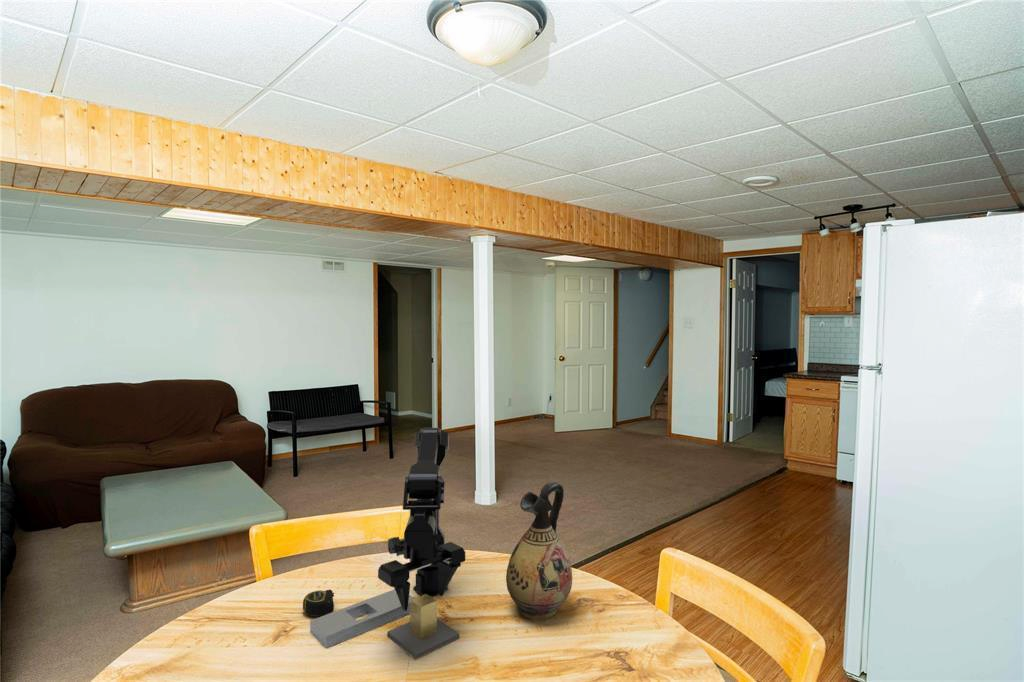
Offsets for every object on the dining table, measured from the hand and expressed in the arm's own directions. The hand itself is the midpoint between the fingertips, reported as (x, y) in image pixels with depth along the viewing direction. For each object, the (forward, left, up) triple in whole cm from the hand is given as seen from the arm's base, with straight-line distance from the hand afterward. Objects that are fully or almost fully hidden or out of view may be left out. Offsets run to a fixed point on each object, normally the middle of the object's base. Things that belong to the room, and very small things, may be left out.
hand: (423, 602), depth 117 cm
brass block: (0, 0, -7) cm, 7 cm away
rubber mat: (0, 0, -8) cm, 8 cm away
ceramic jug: (-27, +9, -8) cm, 30 cm away
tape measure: (+11, -25, -8) cm, 29 cm away
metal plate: (+6, -14, -8) cm, 17 cm away
